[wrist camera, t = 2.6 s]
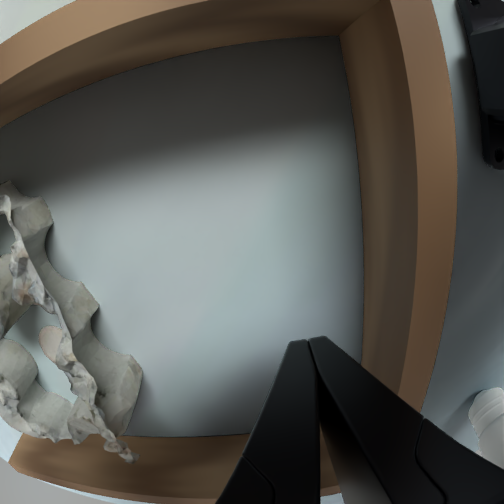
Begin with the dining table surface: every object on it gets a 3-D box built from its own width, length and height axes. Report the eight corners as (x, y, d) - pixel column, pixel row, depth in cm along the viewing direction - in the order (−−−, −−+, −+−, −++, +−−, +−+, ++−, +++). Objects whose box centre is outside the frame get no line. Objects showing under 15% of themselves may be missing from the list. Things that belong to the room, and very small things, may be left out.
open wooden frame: (363, 7, 7) (418, -39, 3) (374, 422, 13) (393, 478, 10) (-88, 170, 8) (-136, 189, 4) (36, 432, 14) (17, 472, 11)
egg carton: (168, 393, 12) (151, 473, 9) (53, 403, 13) (25, 459, 9) (45, 151, 8) (-42, 177, 5) (-54, 226, 9) (-112, 263, 5)
